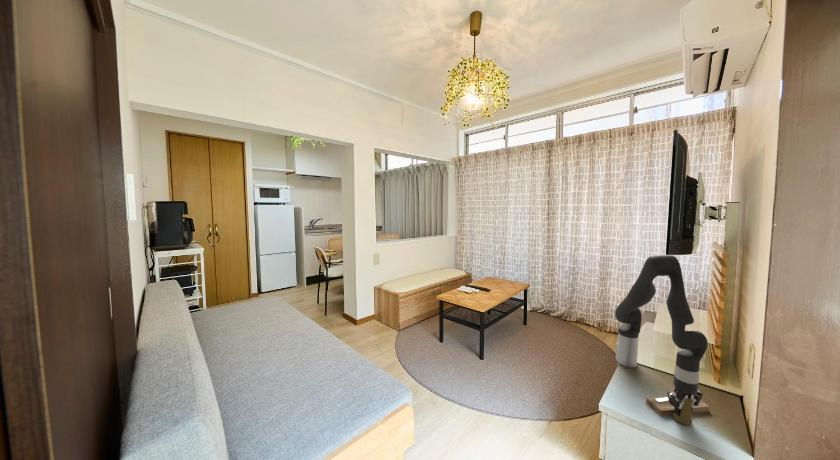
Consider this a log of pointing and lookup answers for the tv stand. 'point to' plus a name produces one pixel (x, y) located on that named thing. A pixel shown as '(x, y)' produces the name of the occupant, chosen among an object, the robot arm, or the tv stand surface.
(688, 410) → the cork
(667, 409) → the walnut board
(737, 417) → the tv stand surface
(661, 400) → the steel ruler
